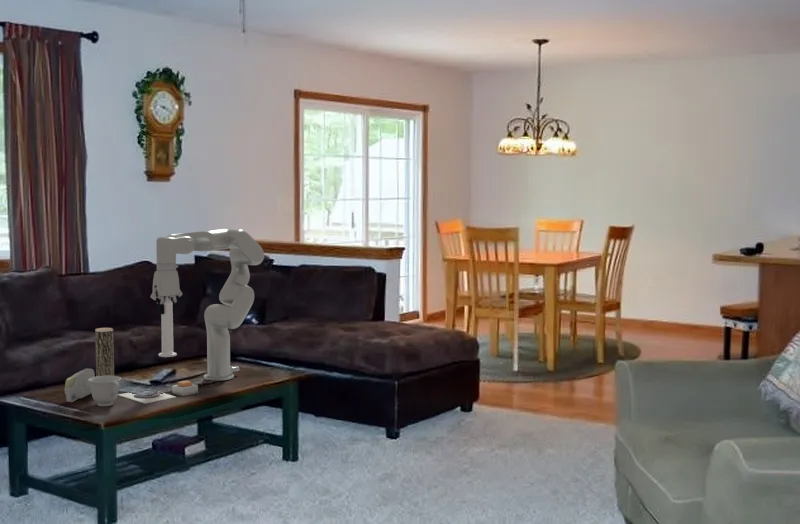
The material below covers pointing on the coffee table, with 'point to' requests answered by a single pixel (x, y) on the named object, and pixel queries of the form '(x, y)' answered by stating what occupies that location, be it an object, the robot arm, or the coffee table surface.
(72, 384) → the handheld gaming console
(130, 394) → the paper sheet
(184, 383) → the button
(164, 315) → the candle
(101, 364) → the wooden log
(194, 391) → the button housing
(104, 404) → the teacup
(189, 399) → the coffee table surface
